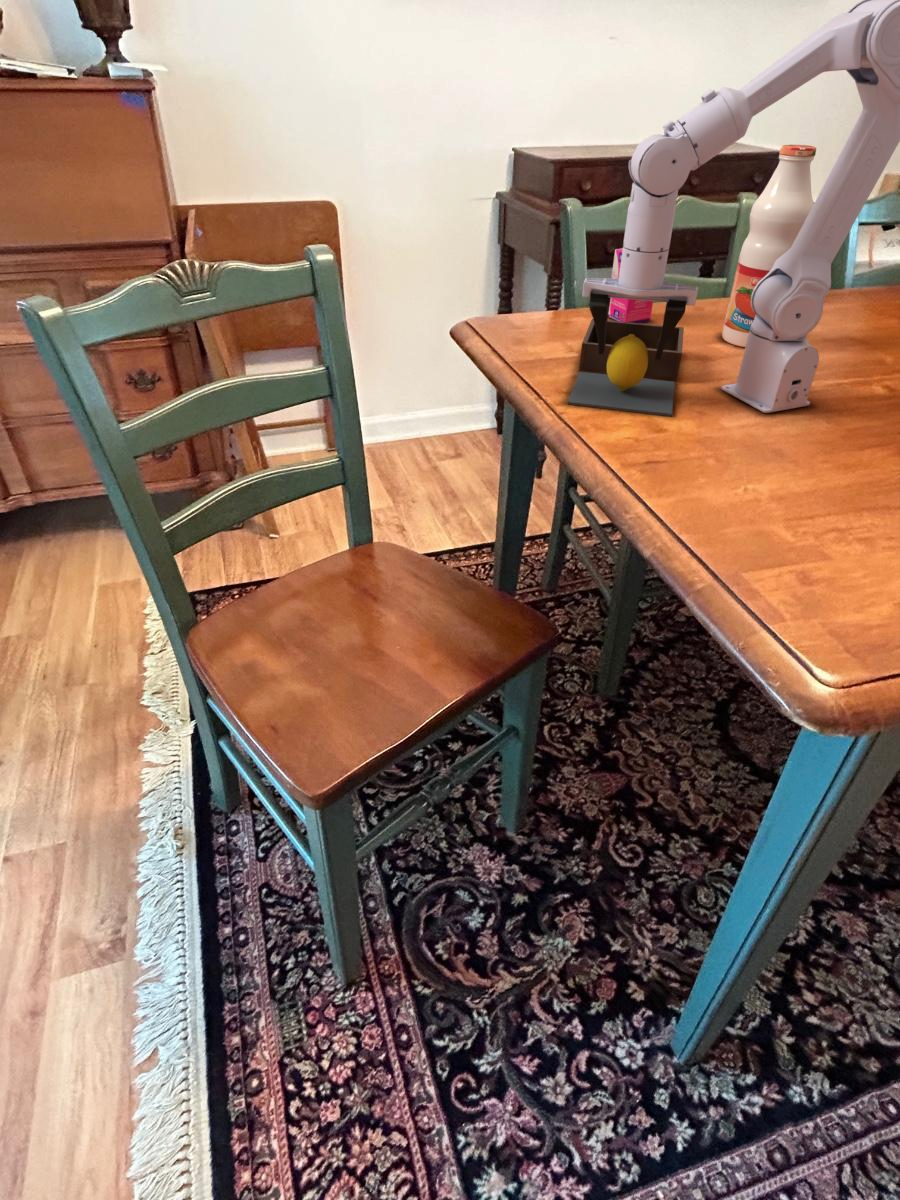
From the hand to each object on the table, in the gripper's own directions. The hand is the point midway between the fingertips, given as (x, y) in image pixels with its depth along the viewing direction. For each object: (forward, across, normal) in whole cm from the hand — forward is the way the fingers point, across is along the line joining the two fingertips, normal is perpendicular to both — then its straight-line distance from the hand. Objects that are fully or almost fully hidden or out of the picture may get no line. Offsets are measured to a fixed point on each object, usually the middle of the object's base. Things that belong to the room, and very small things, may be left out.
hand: (629, 354), depth 102 cm
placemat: (+6, 0, 0) cm, 6 cm away
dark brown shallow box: (+6, 0, -13) cm, 14 cm away
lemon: (+5, 0, 0) cm, 5 cm away
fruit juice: (+6, -18, -30) cm, 36 cm away
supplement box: (+6, +2, -36) cm, 36 cm away
